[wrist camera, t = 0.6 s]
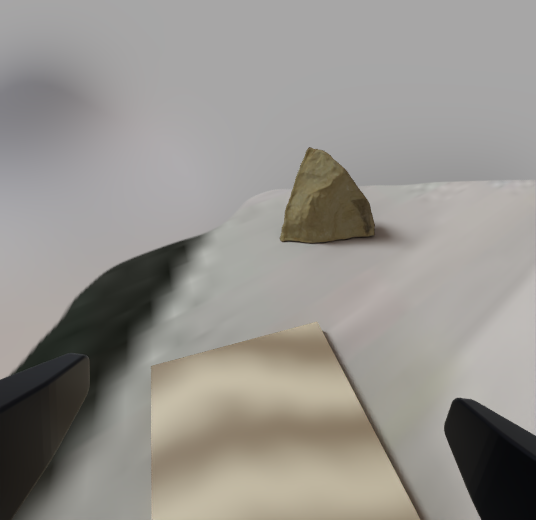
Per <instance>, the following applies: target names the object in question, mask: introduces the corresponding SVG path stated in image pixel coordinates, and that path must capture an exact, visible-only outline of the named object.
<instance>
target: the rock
mask: <svg viewBox="0 0 536 520" xmlns="http://www.w3.org/2000/svg"><path fill="white" fill-rule="evenodd" d="M374 227H375V224H374V221H373V216H372V213H371V208H370V204H369V202H368V200H367V199H366V197H365V196H364V195H363V193H362V192H361V191H360V189H359V188H358V187H357V185H356V184H355V182H354V181H353V179H352V178H351V177H350V175H349V174H348V172H347V171H346V170H345V169H344V168H343V167H342V166H341V165H340V164H339V163H337V162H336V161H335V160H334V159H333V158H332V157H331V155H329V154H328V153H326V152H324V151H323V150H318V149H313V148H310V147H309V148H308V149H307V151H306V154H305V157H304V160H303V161H302V163H301V165H300V170H299V172H298V174H297V176H296V179H295V183H294V187H293V190H292V192H291V197H290V199H289V202H288V204H287V206H286V210H285V218H284V224H283V227H282V233H281V236H280V240H281V241H282V242H285V241H300V242H307V243H316V242H327V241H334V240H339V239H348V238H351V237H363V236H367V237H368V236H373V235H375V232H374Z"/></svg>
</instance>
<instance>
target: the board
mask: <svg viewBox="0 0 536 520" xmlns="http://www.w3.org/2000/svg"><path fill="white" fill-rule="evenodd" d="M151 483H152V520H420V518H419V516H418V514H417V512H416V510H415V508H414V506H413V504H412V502H411V501H410V499H409V497H408V495H407V493H406V491H405V489H404V487H403V485H402V483H401V481H400V479H399V478H398V476H397V474H396V472H395V470H394V468H393V466H392V464H391V462H390V460H389V458H388V456H387V454H386V453H385V451H384V449H383V447H382V445H381V443H380V441H379V439H378V437H377V435H376V433H375V431H374V430H373V428H372V426H371V424H370V422H369V420H368V418H367V416H366V414H365V412H364V410H363V408H362V407H361V405H360V403H359V401H358V399H357V397H356V395H355V393H354V391H353V389H352V387H351V385H350V383H349V382H348V380H347V378H346V376H345V374H344V372H343V370H342V368H341V366H340V364H339V362H338V360H337V359H336V357H335V355H334V353H333V351H332V349H331V347H330V345H329V343H328V341H327V339H326V337H325V336H324V334H323V332H322V330H321V328H320V326H319V324H318V322H314V323H310V324H307V325H303V326H299V327H295V328H292V329H288V330H284V331H280V332H277V333H273V334H269V335H265V336H262V337H258V338H254V339H250V340H247V341H243V342H239V343H235V344H232V345H228V346H224V347H221V348H217V349H213V350H209V351H206V352H202V353H198V354H194V355H191V356H187V357H183V358H179V359H176V360H172V361H168V362H164V363H161V364H157V365H153V366H151Z"/></svg>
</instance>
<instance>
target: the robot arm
mask: <svg viewBox="0 0 536 520" xmlns="http://www.w3.org/2000/svg"><path fill="white" fill-rule="evenodd" d="M88 389H89V358H88V357H87V356H86V355H83V354H74V353H68V354H65V355H63V356H60V357H58V358H55V359H53V360H50V361H47V362H45V363H42V364H40V365H37V366H35V367H32V368H29V369H27V370H24V371H22V372H19V373H16V374H14V375H11V376H9V377H6V378H4V379H1V380H0V520H12V518H13V517H14V515H15V514H16V512H17V511H18V509H19V508H20V506H21V505H22V503H23V502H24V500H25V499H26V497H27V496H28V494H29V493H30V491H31V490H32V488H33V487H34V485H35V484H36V482H37V481H38V479H39V478H40V476H41V475H42V473H43V472H44V470H45V469H46V467H47V466H48V464H49V463H50V461H51V459H52V458H53V456H54V454H55V453H56V451H57V449H58V447H59V445H60V444H61V442H62V440H63V438H64V436H65V434H66V432H67V431H68V429H69V427H70V425H71V423H72V421H73V419H74V418H75V416H76V414H77V412H78V410H79V408H80V406H81V405H82V403H83V401H84V399H85V397H86V395H87V393H88ZM444 431H445V435H446V438H447V441H448V443H449V446H450V448H451V450H452V453H453V455H454V458H455V460H456V463H457V465H458V468H459V470H460V473H461V475H462V478H463V480H464V483H465V485H466V488H467V490H468V492H469V495H470V497H471V499H472V502H473V504H474V506H475V508H476V510H477V512H478V514H479V516H480V518H481V520H536V436H535V435H533V434H532V433H530V432H528V431H526V430H525V429H523V428H521V427H519V426H518V425H516V424H514V423H513V422H511V421H509V420H507V419H506V418H504V417H502V416H500V415H499V414H497V413H495V412H494V411H492V410H490V409H488V408H487V407H485V406H483V405H481V404H480V403H478V402H476V401H474V400H472V399H464V398H456V399H454V400H453V402H452V404H451V407H450V410H449V413H448V416H447V418H446V421H445V425H444Z"/></svg>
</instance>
